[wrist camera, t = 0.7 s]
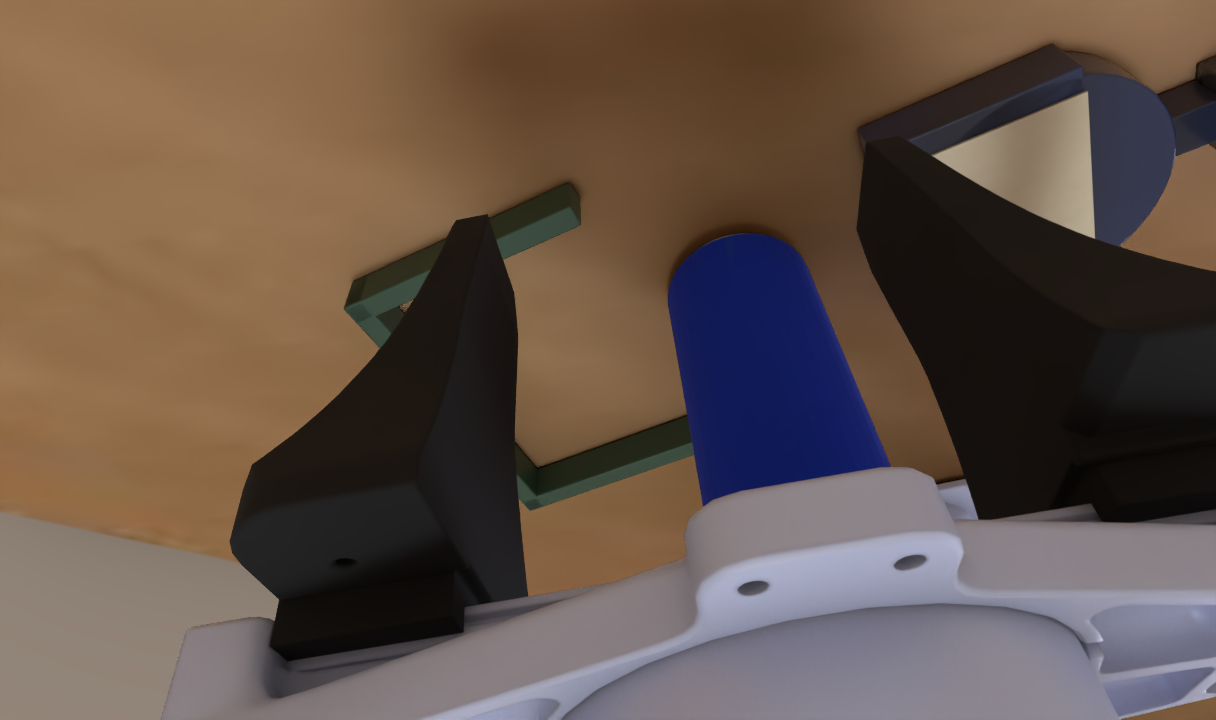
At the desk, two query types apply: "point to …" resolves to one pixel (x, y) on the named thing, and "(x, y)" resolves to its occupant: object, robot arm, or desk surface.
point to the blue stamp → (1064, 137)
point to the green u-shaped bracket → (641, 452)
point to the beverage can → (764, 371)
